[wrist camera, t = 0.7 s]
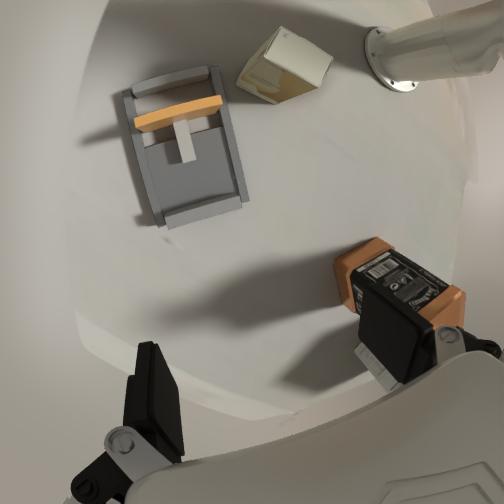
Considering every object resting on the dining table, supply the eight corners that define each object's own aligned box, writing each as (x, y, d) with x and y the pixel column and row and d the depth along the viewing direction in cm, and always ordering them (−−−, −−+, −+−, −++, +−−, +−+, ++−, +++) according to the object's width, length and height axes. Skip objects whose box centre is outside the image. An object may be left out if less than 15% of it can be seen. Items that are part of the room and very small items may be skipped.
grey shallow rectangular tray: (216, 69, 28) (220, 59, 25) (247, 199, 36) (254, 204, 32) (124, 94, 27) (117, 87, 23) (159, 224, 34) (156, 233, 30)
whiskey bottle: (342, 305, 46) (463, 435, 17) (331, 260, 42) (490, 397, 13) (386, 280, 47) (512, 381, 18) (380, 234, 43) (538, 330, 14)
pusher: (212, 106, 29) (220, 94, 23) (223, 152, 32) (234, 151, 25) (143, 125, 28) (133, 118, 22) (155, 171, 30) (148, 176, 24)
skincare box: (233, 85, 30) (258, 55, 19) (247, 60, 29) (277, 22, 18) (277, 107, 32) (320, 89, 21) (289, 81, 31) (335, 57, 20)
